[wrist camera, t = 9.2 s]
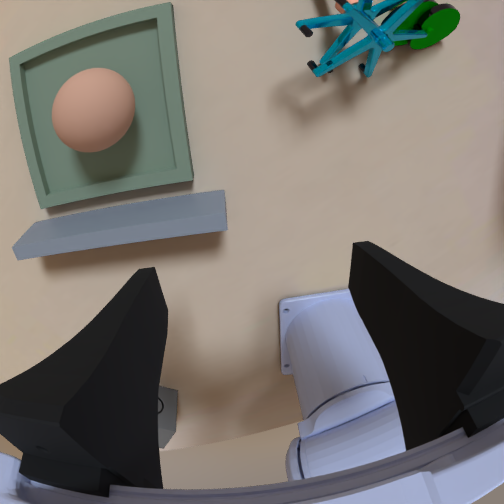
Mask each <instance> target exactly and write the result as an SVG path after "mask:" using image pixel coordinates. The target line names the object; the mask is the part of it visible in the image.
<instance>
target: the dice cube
mask: <svg viewBox="0 0 504 504" xmlns="http://www.w3.org/2000/svg"><path fill="white" fill-rule="evenodd" d="M177 395H178V390H174V389H170V388H166V387H162V386H159V392H158V440H159V448H163V449H164V447H165V446H166V445H167V443H168V442H169V440H170V439H171V438H172V436H173V435H174V433H175V432H176V415H177Z"/></svg>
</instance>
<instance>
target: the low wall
mask: <svg viewBox="0 0 504 504" xmlns="http://www.w3.org/2000/svg"><path fill="white" fill-rule="evenodd" d="M225 230H228V228H227V213H226V201H225V193H224V190H219V191H211V192H204V193H196V194H189V195H182V196H175V197H168V198H162V199H155V200H149V201H143V202H137V203H131V204H125V205H120V206H114V207H108V208H103V209H98V210H92V211H87V212H82V213H77V214H72V215H67V216H63V217H58V218H53V219H49V220H44V221H40V222H35V223H34V224H33V225H32V226H31V227H30V228H29V229H28V230H27V231H26V232H25V233H24V235H23V236H22V237H21V238H20V239H19V240H18V241H17V242H16V243H15V244H14V245H13V247H12V249H13V251H14V253H15V256H16V258H17V260H23V259H29V258H35V257H41V256H47V255H54V254H60V253H66V252H73V251H79V250H86V249H93V248H99V247H106V246H113V245H120V244H127V243H134V242H141V241H148V240H156V239H163V238H171V237H178V236H186V235H193V234H201V233H209V232H217V231H225Z"/></svg>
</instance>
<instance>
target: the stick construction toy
mask: <svg viewBox="0 0 504 504" xmlns="http://www.w3.org/2000/svg"><path fill="white" fill-rule="evenodd" d="M335 1H336V4H335V7H336V9H337V10H338V11H339V12H340V13H341V14H336V15H329V16H322V17H316V18H310V19H305V20H299V21H297V22H296V26H297V27H298V28H299V30H300V31H301V32H302V33H303V34H304V35H305V36H306V37H311V36H312V35H313V32H312V31H311V30H310V29H312V28H321V27H332V26H345V25H347V27H346V28H345V29H344V30H343V32H342V33H341V34H340V35H339V37H338V38H337V39H336V40H335V42H334V43H333V44H332V46H331V47H330V48H329V49H328V51H327V52H326V53H325V55H324V56H323V57H322V58H321V60H320V63H321V65H320V66H319V67H318V66H317V65H316V64H315V62H314V61H312V60H311V61H309V62H308V63H307V65H308V66H309V68H310V69H311V70H312V72H313V73H314V74H315V76H316V77H320V76H322V75H323V74H325V73H327V72H328V73H331V72H332V71H333V69H334V68H336V67H337V66H339V65H341V64H343V63H344V62H346V61H348V60H350V59H352V58H353V57H355V56H357V55H359V54H361V53H363V52H365V51H367V50H368V49H369V53H368V57H367V62H366V66H365V65H364V64H363V63H361V64H360V65H359V68H360V69H361V70H362V72H363V73H364V74H365V75H366V77H370V76H371V75H372V73H373V71H374V68H375V66H376V63H377V61H378V59H379V56H380V54H381V51H384V52H388V51H390V50H392V49H393V48H394V46H399V45H404V44H407V43H408V44H409V45H410V47H411V48H412V49H423V48H426V47H429V46H431V45H433V44H435V43H437V42H439V41H440V40H442V39H443V38H445V37H446V36H448V35H449V34H450V33H451V32H452V31H454V30H455V29H456V27H457V25H458V23H459V20H460V13H459V12H458V10H457V9H456V8H455V7H454V6H452V5H451V4H440V5H438V3H437V2H436V1H435V0H385V1H383V2H381V3H378V4H376V5H374V6H372V0H335ZM371 6H372V7H371ZM395 7H397V8H396V9H395V10H394V11H392V12H391V13H390V14H389V15H388V16H387V17H386V18H385V19H384V20H383V21H382V23H381V26H378V25H377V24H376V23H375V22H374V21H373V20H374V19H375V18H376V17H378V16H380V15H381V14H383V13H385V12H387V11H389V10H391V9H393V8H395ZM362 28H363V29H364V30H365V31H366V33H367V34H368V36H367V37H366V38H364V39H362V40H361V41H359V42H357V43H356V44H354V45H352V46H351V47H349V48H347V49H346V50H344V51H342V52H341V53H339V54H337V53H338V52H339V51H340V50H341V49H342V48H343V47H344V46H345V45H346V44H347V43H348V42H349V41H350V39H351V38H352V37H353V36H354V35H355V34H356V33H357V32H358V31H359V30H360V29H362ZM336 54H337V55H336Z"/></svg>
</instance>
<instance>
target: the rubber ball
mask: <svg viewBox="0 0 504 504" xmlns="http://www.w3.org/2000/svg"><path fill="white" fill-rule="evenodd" d="M134 113H135V97H134V93H133V91H132V88H131V86H130V84H129V83H128V82H127V80H126V79H125V78H124V77H123V76H121V75H120V74H119V73H117V72H115V71H113V70H110V69H106V68H91V69H86V70H83V71H81V72H79V73H77V74H75V75H74V76H72V77H71V78H70V79H68V80H67V81H66V82H65V83H64V84H63V85H62V87H61V88H60V90H59V91H58V93H57V95H56V97H55V100H54V103H53V107H52V123H53V127H54V130H55V132H56V134H57V136H58V137H59V139H60V140H61V141H62V142H63V143H64V144H65V145H67V146H68V147H70V148H72V149H74V150H76V151H80V152H97V151H101V150H104V149H107V148H108V147H110V146H112V145H114V144H115V143H116V142H118V141H119V140H120V139H121V138H122V137H123V136H124V135H125V133H126V132H127V130H128V129H129V127H130V125H131V123H132V121H133V117H134Z"/></svg>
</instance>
